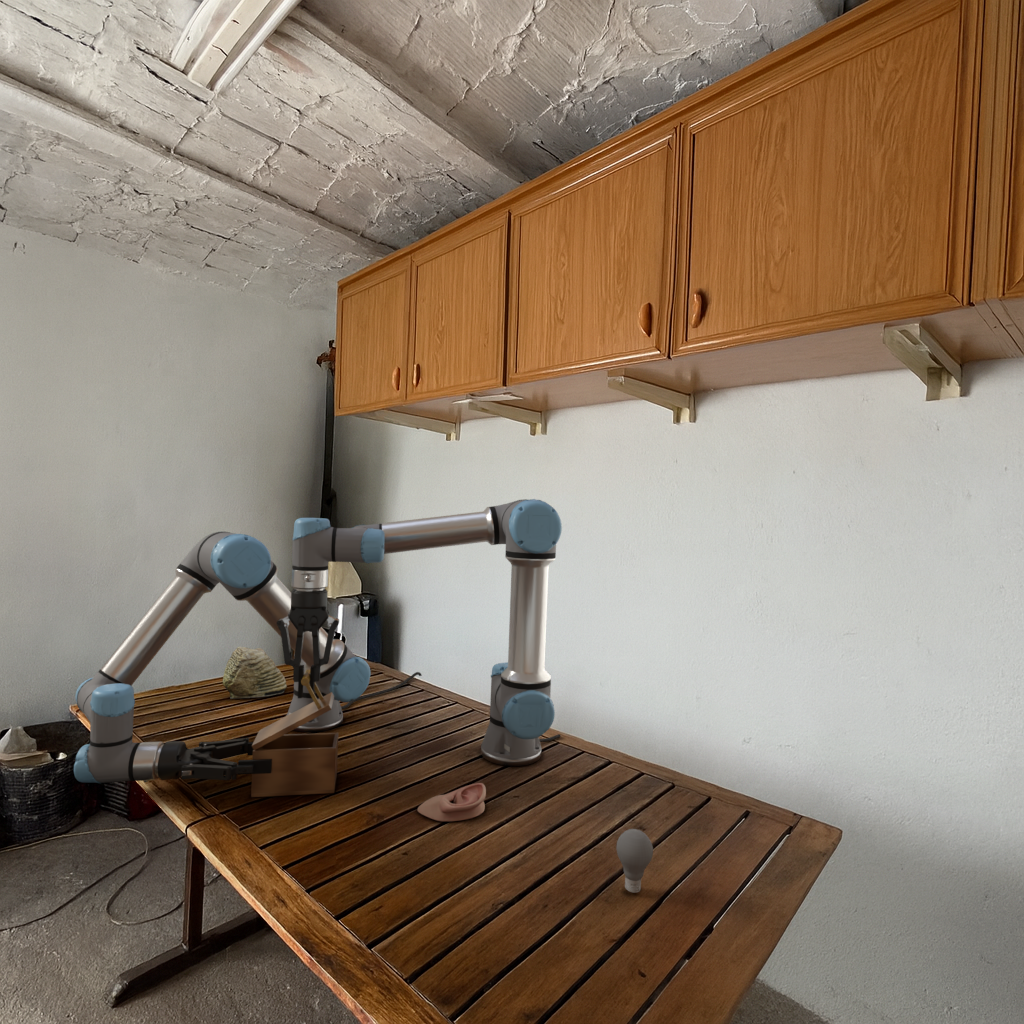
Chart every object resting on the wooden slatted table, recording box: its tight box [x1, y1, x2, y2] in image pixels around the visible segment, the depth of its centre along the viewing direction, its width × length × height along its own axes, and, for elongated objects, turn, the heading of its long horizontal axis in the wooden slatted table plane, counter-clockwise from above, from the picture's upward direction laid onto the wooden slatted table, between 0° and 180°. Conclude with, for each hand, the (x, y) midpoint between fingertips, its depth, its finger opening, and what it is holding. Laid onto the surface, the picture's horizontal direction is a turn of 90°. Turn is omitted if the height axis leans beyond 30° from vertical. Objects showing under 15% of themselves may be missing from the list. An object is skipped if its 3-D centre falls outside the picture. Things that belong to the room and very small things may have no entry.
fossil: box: [222, 646, 288, 699], centre depth 198 cm, size 9×18×15 cm, turn 132°
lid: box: [252, 670, 334, 750], centre depth 138 cm, size 17×9×8 cm, turn 101°
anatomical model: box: [417, 782, 487, 822], centre depth 131 cm, size 13×4×12 cm
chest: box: [250, 732, 339, 798], centre depth 138 cm, size 17×9×10 cm, turn 102°
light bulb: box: [615, 828, 654, 894], centre depth 106 cm, size 6×6×10 cm
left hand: (275, 756), depth 137 cm, fingers closed on chest, 9 cm apart
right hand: (306, 695), depth 138 cm, fingers closed on lid, 2 cm apart
